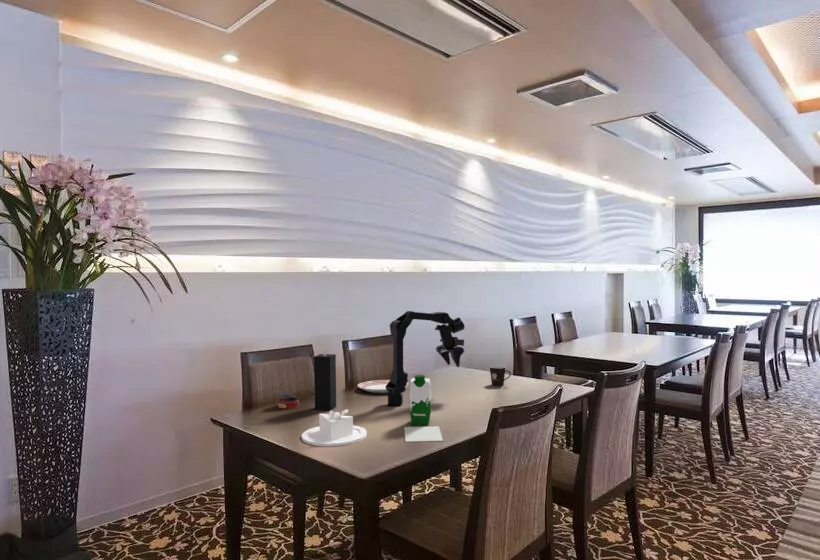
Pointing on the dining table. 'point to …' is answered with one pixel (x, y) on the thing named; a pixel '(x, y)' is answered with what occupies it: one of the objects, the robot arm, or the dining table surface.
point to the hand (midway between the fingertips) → (453, 365)
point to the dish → (334, 431)
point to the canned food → (287, 400)
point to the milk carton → (420, 400)
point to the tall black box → (325, 381)
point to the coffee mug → (498, 375)
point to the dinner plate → (375, 386)
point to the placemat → (422, 434)
